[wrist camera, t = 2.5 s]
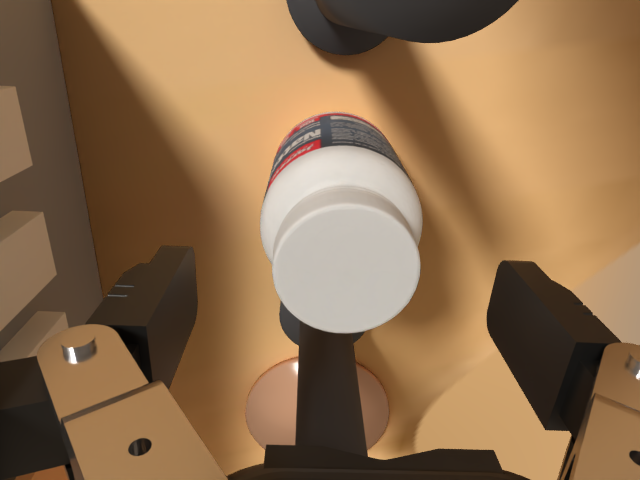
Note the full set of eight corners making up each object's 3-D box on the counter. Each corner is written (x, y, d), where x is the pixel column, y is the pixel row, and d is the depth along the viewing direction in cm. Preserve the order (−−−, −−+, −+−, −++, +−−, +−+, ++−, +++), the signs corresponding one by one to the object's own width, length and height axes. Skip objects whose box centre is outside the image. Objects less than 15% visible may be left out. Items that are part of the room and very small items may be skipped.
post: (281, 266, 22) (241, 594, 10) (372, 269, 22) (451, 597, 10) (279, 340, 24) (244, 696, 11) (363, 343, 24) (421, 697, 12)
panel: (8, -47, 17) (-569, -172, 6) (71, -43, 17) (-380, -159, 6) (101, 411, 26) (-49, 692, 15) (141, 412, 26) (20, 692, 15)
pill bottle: (306, 86, 19) (303, 138, 11) (416, 144, 20) (488, 230, 12) (254, 197, 21) (217, 310, 13) (356, 244, 22) (382, 376, 14)
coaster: (245, 352, 24) (244, 357, 24) (396, 356, 25) (397, 361, 24) (247, 458, 28) (246, 464, 27) (380, 461, 28) (380, 467, 28)
